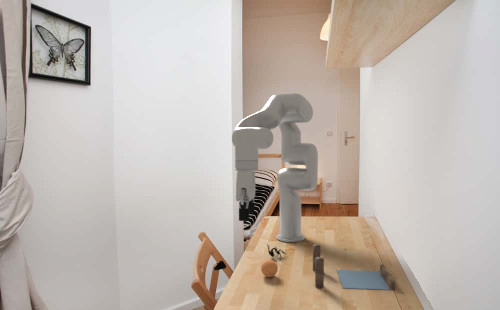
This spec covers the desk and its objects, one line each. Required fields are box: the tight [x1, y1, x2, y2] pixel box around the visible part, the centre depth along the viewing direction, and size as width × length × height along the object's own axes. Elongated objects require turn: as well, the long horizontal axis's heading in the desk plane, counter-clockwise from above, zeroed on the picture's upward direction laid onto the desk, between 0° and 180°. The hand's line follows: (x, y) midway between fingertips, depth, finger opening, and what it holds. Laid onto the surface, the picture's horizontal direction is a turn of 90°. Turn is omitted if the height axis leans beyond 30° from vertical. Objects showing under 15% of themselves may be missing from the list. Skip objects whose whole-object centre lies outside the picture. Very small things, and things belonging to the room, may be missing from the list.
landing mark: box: [336, 269, 391, 291], centre depth 118 cm, size 14×14×1 cm
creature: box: [266, 244, 286, 261], centre depth 139 cm, size 8×5×8 cm
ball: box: [260, 259, 279, 278], centre depth 121 cm, size 6×6×6 cm
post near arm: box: [312, 243, 321, 273], centre depth 126 cm, size 3×3×9 cm
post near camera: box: [314, 256, 325, 289], centre depth 113 cm, size 3×3×9 cm
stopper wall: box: [379, 264, 396, 291], centre depth 117 cm, size 14×1×2 cm, turn 174°
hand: (246, 217), depth 120 cm, fingers open, 9 cm apart
